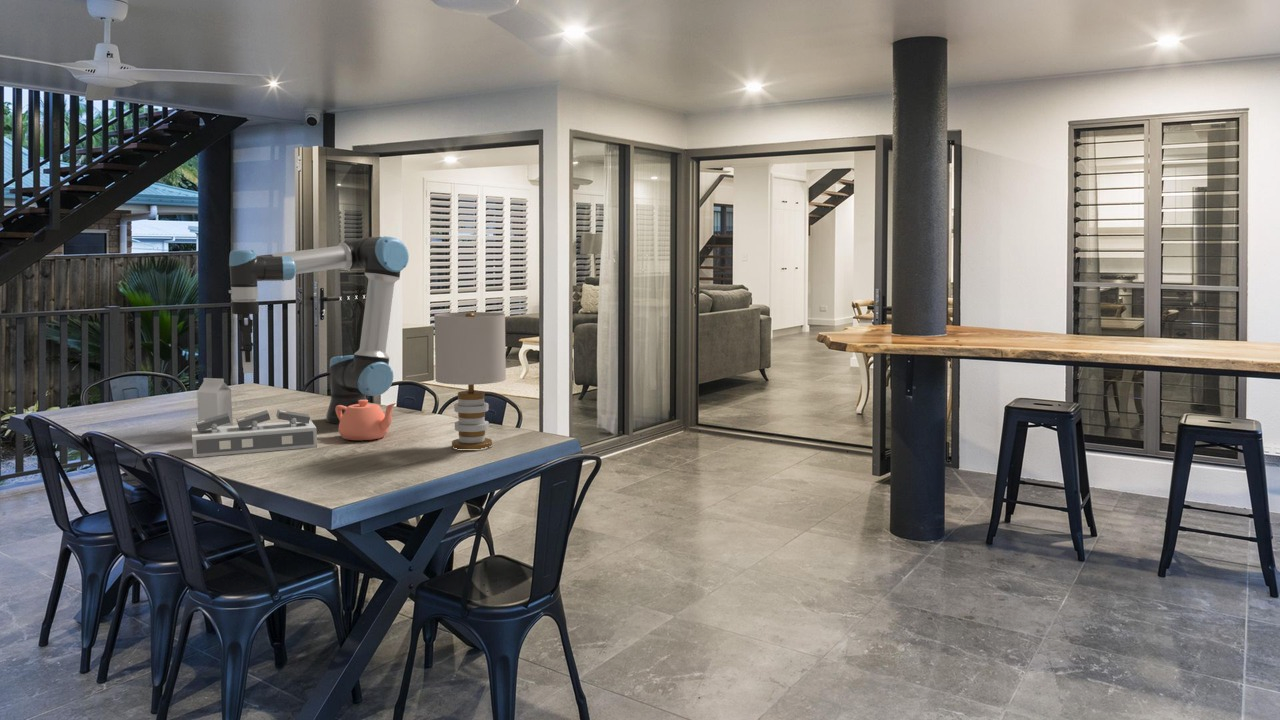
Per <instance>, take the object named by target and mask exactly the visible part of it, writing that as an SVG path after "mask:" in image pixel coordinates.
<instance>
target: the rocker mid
mask: <svg viewBox="0 0 1280 720" xmlns="http://www.w3.org/2000/svg"><path fill="white" fill-rule="evenodd" d="M270 420H271V417H270V414H269V411H268V410H267V409H266V410H262V411H260V412H256V413H253V414H249V415H246V416H243V417H240V418H236V423H237V425H238V426H239V429H241V428H244V427H247V426H251V425H253V426H256V425H257V424H262V423H263V422H267V421H270Z"/></svg>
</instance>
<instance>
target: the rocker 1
mask: <svg viewBox="0 0 1280 720" xmlns="http://www.w3.org/2000/svg"><path fill="white" fill-rule="evenodd" d="M227 423H230V418H229V415H228V413H225V414H222V415H218V416H215V417H212V418H208V419H205V420H201V421H199V420H198V421H196V422H195V427H196V428H197V429H198V432H200V431H203V430H207V429H210V428H213V429H216V428H217V426H220V425H223V424H227Z"/></svg>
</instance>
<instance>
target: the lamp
mask: <svg viewBox="0 0 1280 720" xmlns="http://www.w3.org/2000/svg"><path fill="white" fill-rule="evenodd" d="M433 317H434V319H433V321H434V322H433V323H434V352H435V353H434V357H435V358H434V360H435V363H434V364H435V365H434V366H435V382H437V383H440V384H443V385H445V384H446V385H460V386H462V385H464V386H465V385H468V387H467V389H468V390H462V391H458V392H457V401H458V402H457V403H455V404H453V406H454V407H453V408H454V410H453V411H454V412H455V413H458V414H457V416H458V421H455V422H454V430H455V431H456V432H458V438H456V439H454V440H452V441H451V448H452V447H454V448H457V449H481V448H485V447H489V446H491V445H492V446H493V441H492V439H491V438H487V437H485V436H486V431H487V430H488V429H490V426H489V421H488V420H485V418H486V417H485V416H486V412H488V411H489V403H488V402H485V396H486V395H485V391H482V390H475V385H488V384H495V383H496V384H497V383H501V382H505V381H506V380H507V377H506V376H507V375H506V373H507V372H506V371H507V370H506V368H507V367H506V363H507V361H506V314H505V313H502V312H486V311H485V312H483V311H481V312H480V311H478V312H477V311H476V312H475V311H470V312H469V311H466V312H465V311H462V312H442V313H436V314H435V313H434V315H433Z"/></svg>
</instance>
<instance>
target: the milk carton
mask: <svg viewBox="0 0 1280 720" xmlns="http://www.w3.org/2000/svg"><path fill="white" fill-rule="evenodd" d="M224 381H225V379H224V378H214V377H213V378H212V377H211V378H210V377H203V381H202V383H201V385H200V387H199V388H198V390H197V391H196V397H197V398H196V399H197V400H196V401H197V413H198V414H197V415H198V417H197V418H198V421H201V420H205V419H208V418H212V417H215V416H218V415H222V414H225V413H228V415H229V418H230V423H227V424H223V425H220V426H217V427H221V426H234V425H233V423H234V422H233V406H232V405H233V404H232V389H231V388H230V387H229V386H228V385H227V384H226V383H225V382H224Z"/></svg>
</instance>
